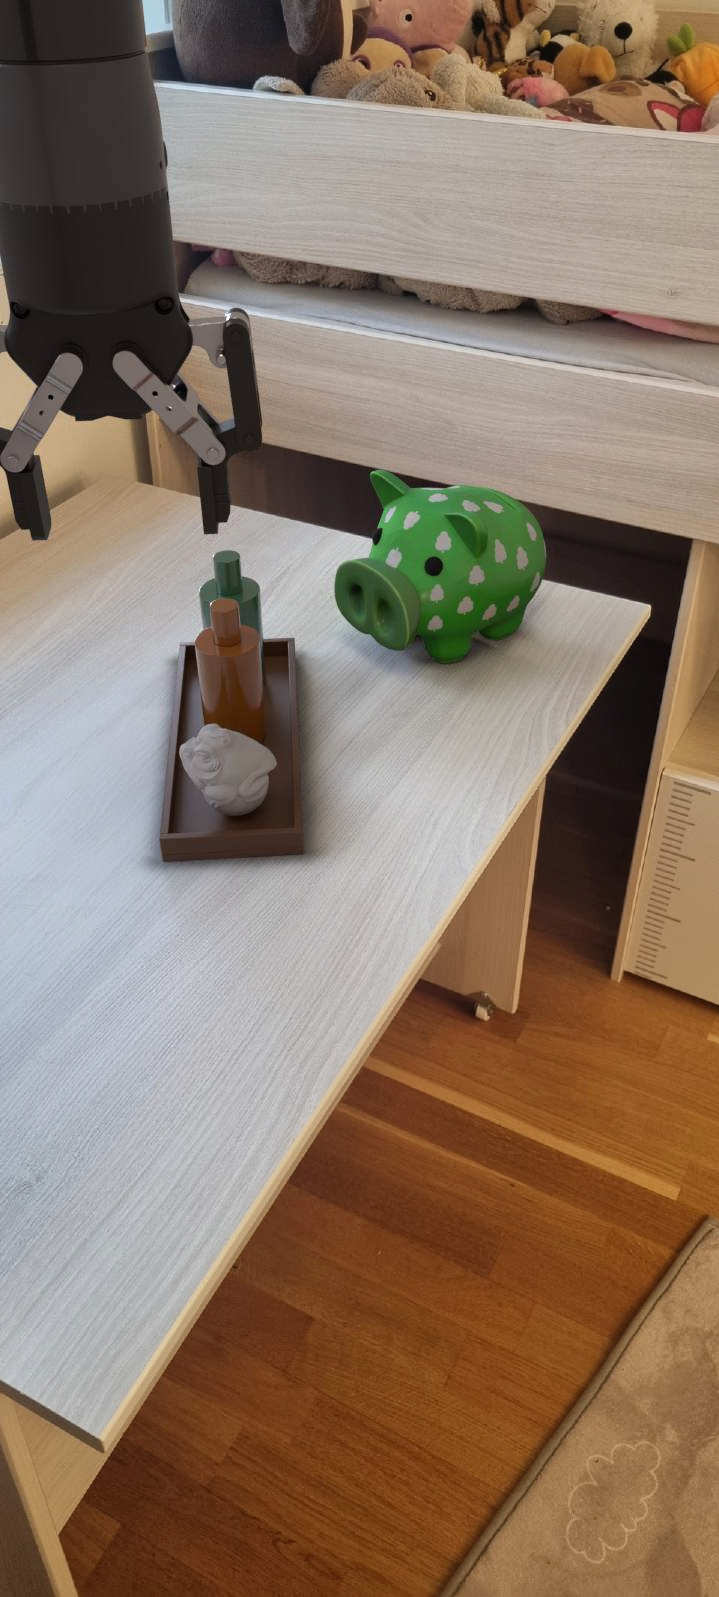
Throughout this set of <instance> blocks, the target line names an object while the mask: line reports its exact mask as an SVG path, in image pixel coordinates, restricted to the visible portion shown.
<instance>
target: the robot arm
mask: <svg viewBox="0 0 719 1597" xmlns="http://www.w3.org/2000/svg"><path fill="white" fill-rule="evenodd" d="M147 48H148V42H147V32H146V22H145V12H144V3H143V0H0V264H1V268H2V273H3V279H4V285H5V290H6V296H7V301H8V306H9V317H8V323H7V324H0V354H2V353H7V354H8V356H9V357H10V359H11V360H12V361H13V363H15V364H16V365H17V367H18V368H20V370H21V371H22V372H23V373H24V374H25V375H26V376H27V378H29V379H30V381H31V382H32V383H33V384H34V385H35V386H36V387H35V389H34V390H33V392H32V394H31V396H30V397H29V399H28V401H27V403H26V406H25V407H24V409H23V410H22V412H21V414H20V415H19V418H18V419H17V420H16V423H15V425H14V426H13V428H12V430H11V429H8V428H4V427H1V426H0V468H2V470H3V471H4V473H5V476H6V482H7V486H8V487H7V488H8V491H9V496H10V501H11V506H12V511H13V516H14V520H15V523H16V524H17V525H18V527H19V529H20V531H25V530H26V531H27V530H28V531H29V534H30V538H31V541H34V542H35V541H37V542H38V541H48V539H49V537H50V533H51V530H52V515H51V510H50V505H49V500H48V499H49V498H48V494H47V488H46V483H45V478H44V477H45V476H44V472H43V466H42V461H41V456H40V454H35V451H36V449H37V447H38V446H39V445H40V443H41V441H42V440H43V439H44V437H45V435H46V433H47V432H48V431H49V429H50V427H51V425H52V424H53V422H54V420H55V419H56V418H57V415H58V414H59V412H60V411H61V412H62V413H64V414H65V415H67V416H70V417H73V418H74V420H75V422H92V421H96V420H100V419H103V418H105V417H112V418H116V419H120V420H121V419H122V420H127V421H128V420H143V416H144V415H147V414H149V413H150V412H152V411H153V412H154V413H155V414H156V415H157V416H158V418H160V420H162V422H163V423H164V424H165V425H166V426H167V427H168V428H169V429H170V431H172V432H173V433H174V434H176V435H179V436H180V437H181V438H183V440H184V441H185V442H186V443H187V444H188V445H189V447H190V448H192V450H193V451H194V452H195V453H196V454H197V465H196V470H197V479H198V480H197V482H198V490H199V499H200V500H199V501H200V508H201V509H200V510H201V520H202V530H203V535H219V524H222V523H223V524H224V523H225V524H226V523H227V524H228V521H229V518H230V515H231V502H232V499H231V489H230V476H229V460H230V458H231V457H232V456H234V455H237V454H239V453H241V452H243V451H246V452H254V451H256V450H258V449H260V447H261V446H262V443H263V431H262V430H263V429H262V428H263V416H262V408H261V400H260V392H259V391H260V390H259V384H258V376H257V375H258V374H257V367H256V360H255V354H254V353H255V352H254V344H253V336H252V329H251V320H250V316H249V314H248V312H246V310H244V309H243V308H240V307H232V308H230V309H228V310H227V311H226V312H225V314H224V315H221V316H212V317H201V318H190V316H188V314H187V313H186V310H185V309H184V307H183V304H182V301H181V299H180V294H179V284H178V274H177V265H176V254H175V246H174V245H175V244H174V235H173V234H174V233H173V225H172V215H171V205H170V195H169V185H168V176H167V170H168V166H169V165H168V161H169V160H168V150H167V146H166V142H165V141H164V134H163V127H162V119H161V118H162V117H161V110H160V106H159V100H158V96H157V92H156V88H155V84H154V83H155V82H154V79H153V74H152V69H151V65H150V64H151V63H150V57H149V51H148V50H147ZM193 346H196V347H200V348H202V349H203V350H204V351H205V352H206V353H207V355H208V358H209V361H210V363H211V365H213V366H215V367H216V368H219V369H226V371H227V378H228V386H229V393H230V399H231V400H230V401H231V407H232V408H231V409H232V416H233V417H231V418H228V419H226V420H223V421H219V419H218V418H217V417H216V416H215V415H214V413H212V412H211V411H210V409H209V408H208V407H207V406H206V405H205V404H204V402H203V401H202V400H201V398H200V396H199V394H198V392H197V391H196V390H195V388H194V387H193V386H192V385H191V384H190V383H189V381H188V380H187V379H186V378H185V377H184V376H183V375H182V374H181V373H180V371H181V368H182V367H183V365H184V364H185V362H186V360H187V358H188V356H189V355H190V353H191V351H192V349H193Z"/></svg>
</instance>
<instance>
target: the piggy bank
mask: <svg viewBox="0 0 719 1597" xmlns="http://www.w3.org/2000/svg"><path fill="white" fill-rule="evenodd" d="M369 478H370V482H371V485H372V487H373V489H374V492H375V494H376V495H377V497H378V499H379V501H380V504H381V506H382V509H383V512H382V514H381V517H380V520H379V523H378V525H377V528H376V529H375V530H374V531H373V533H372V535H371V539H372V540H371V541H372V544H371V548H370V551H369V554H368V557H359V558H355V559H350V560H345V561H343V562H342V563H341V564H340V565H339V566H338V567H337V569H336V572H335V575H334V576H335V577H334V588H333V589H334V590H333V591H334V592H333V593H334V599H335V604H336V607H337V609H338V610H339V612H340V614H341V615H342V617H343V618H344V619H345V620H346V622H348V623H349V624H350V626H352V627H353V628H354V629H356V631H358V632H360V633H362V634H364V635H369V636H371V637H372V638H373V639H374V641H375V642H376V643H378V644H379V645H380V646H382V647H383V648H385V649H388V650H391V651H395V652H397V651H398V652H399V651H404V650H405V649H407V647H409V645H410V644H412V642H413V641H414V639H415V638H416V636H420V639H421V640H422V644H423V648H424V650H425V651H426V653H427V654H428V655H429V656H430V658H431V659H432V660H434V661H436V662H437V663H441V664H451V663H455V662H458V661H460V660H463V659H464V658H465V656H466V655H467V654H468V653H469V652H470V650H471V645H472V639H473V637H474V635H476V633H479V634H480V636H481V637H483V638H484V639H487V640H490V641H494V642H498V641H501V640H504V639H506V638H508V637H511V636H512V635H513V634H515V633H516V632H517V630H518V629H519V628H520V626H521V625H522V623H523V620H524V616H525V612H526V610H527V608H528V605H529V604H530V603H531V601H532V600H533V599H534V598H535V596H536V594H537V592H538V591H539V588H540V587H541V584H542V582H543V579H544V575H545V571H546V566H547V549H546V542H545V539H544V538H545V537H544V533H543V531H542V528H541V525H540V524H539V522H538V520H537V518H536V517H535V515H534V514H533V513H532V511H531V510H530V509H528V508H527V507H526V506H525V505H524V504H523V503H522V502H520V501H519V500H517V499H515V497H513V496H511V495H509V494H507V493H506V492H502V491H499V490H496V489H494V488H490V487H483V486H477V485H468V484H456V485H452V486H448V487H444V488H443V487H410V486H409V485H407V484H406V483H405V482H404V481H403V480H401V479H400V478H399V477H398V476H396V475H395V474H393V473H391V472H389V471H387V470H385V469H376V470H373V471H371V472H370V474H369Z"/></svg>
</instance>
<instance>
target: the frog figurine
mask: <svg viewBox="0 0 719 1597" xmlns="http://www.w3.org/2000/svg"><path fill="white" fill-rule="evenodd" d="M179 755H180V758H181V760H182V764H183V766H184V769H185V770H186V772H187V773H188V775H189V777H190V778H191V779H192V781H193V782H194V785H196V787H197V788H198V789H202V793H203V795H204V798H205V799H206V801H207V802H208V804H209V805H210V806H211V807H212V808H213V809H215V810H216V811H218V812H220V813H222V814H225V815H229V816H241V815H245V814H248V813H250V812H252V811H253V810H255V809H256V808H257V807H258V806H259V805H260V804H261V803H262V802H263V800H264V798H265V796H266V794H267V791H268V784H269V777H268V773H269V772H270V771H271V770H273V769H274V768H275V767H276V765H277V763H276V759H275V757H274V755H273V754H272V753H271V751H270V750H269V749H268V748H266V747H265V746H263V745H261V744H259V743H258V742H257V741H255V740H253V739H251V738H249V737H247V736H245V735H243V734H241V733H238V732H234V731H231V730H228V729H226V728H225V729H224V728H221V727H220V726H219V725H217V724H208V725H206V726H204V727H203V728H202V729H201V730H200V732H199V734H198V736H197V738H194V737H193V738H191V739H189V740H188V741H187V742H186V743H185V744H182V745H181V747H180V750H179Z"/></svg>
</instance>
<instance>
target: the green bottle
mask: <svg viewBox="0 0 719 1597" xmlns="http://www.w3.org/2000/svg"><path fill="white" fill-rule="evenodd" d="M212 564H213V574H214V577H213V578H211V579H209V580H207V581H205V582H204V583H203V584H201V586H200V587H199V589H198V596H199V605H200V606H199V607H200V616H201V623H202V624H201V625H202V631H203V630H204V629H206V628H208V627H211V617H210V604H211V603H212V602H213V601H215V600H217V599H221V598H230V599H234V600H236V601H237V602H238V604H239V614H240V624H242V625H246V626H249V627H251V628H253V629H254V630H256V631H257V632H258V634H259V636H260V647H261V661H262V674H263V687H264V686H265V684H266V666H265V652H264V639H265V638H264V627H263V626H264V624H263V613H262V596H261V587H260V584H259V582H257V581H256V580H255V579H253V578H251V577H248V576H244V575H243V573H242V572H243V571H242V561H241V554H240V553H239V552H238V551H235V550H232V549H231V550H229V549H227V550H226V549H225V550H220V551H217V552H216V553H214V554H213V556H212Z"/></svg>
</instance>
